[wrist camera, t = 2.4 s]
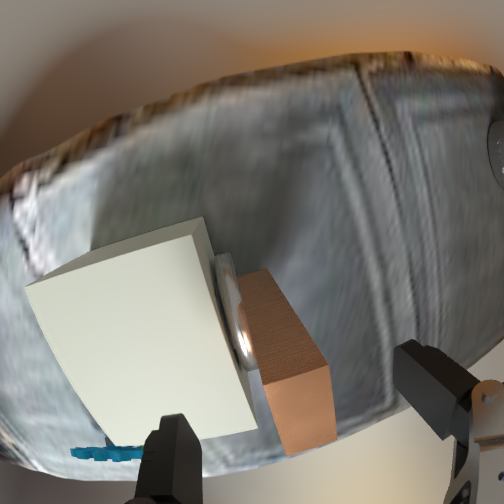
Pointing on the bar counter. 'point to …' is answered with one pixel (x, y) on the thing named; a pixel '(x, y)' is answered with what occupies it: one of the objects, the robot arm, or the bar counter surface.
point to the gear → (108, 452)
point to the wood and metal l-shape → (277, 355)
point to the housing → (146, 335)
